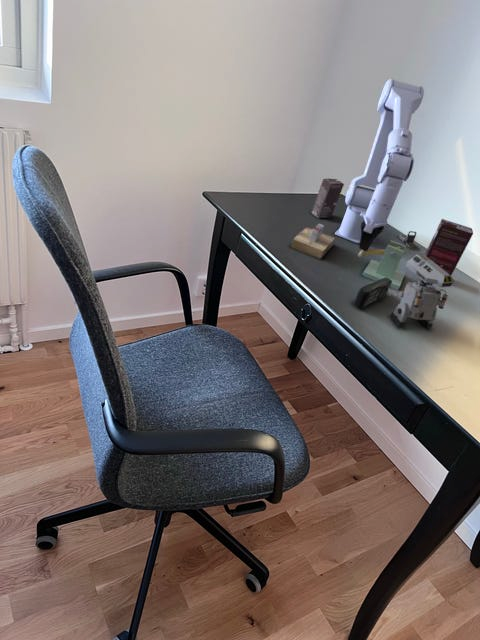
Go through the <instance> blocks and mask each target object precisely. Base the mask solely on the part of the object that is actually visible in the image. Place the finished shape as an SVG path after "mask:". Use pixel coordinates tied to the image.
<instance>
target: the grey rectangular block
mask: <svg viewBox="0 0 480 640" xmlns="http://www.w3.org/2000/svg"><path fill="white" fill-rule="evenodd" d="M324 227H325V225H324V224H321V223H318V224H316V225H315V227H313V228H312V229H313V230H312V233H311V236H310V239H309V240H310V241H313V242H315V241H316V240H317V239H318V238H319V237H320V236H321V233H323V230H324Z"/></svg>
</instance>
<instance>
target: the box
mask: <svg viewBox="0 0 480 640" xmlns="http://www.w3.org/2000/svg"><path fill="white" fill-rule="evenodd" d="M344 186H345V184H344V183H343V182H342V181H341V180H339V179H337V178H323V179H322V182H321V185H320V187H319V190H318V193H317V195H316V198H315V201H314V204H313V207H312V210H311V214H312V215H313V216H315V217H316V218H318V219H321V218H322V219H325V218H332V216H333V214H334V211H335V209H336V206H337V203H338V201H339V198H340V195H341V193H342V191H343V188H344Z"/></svg>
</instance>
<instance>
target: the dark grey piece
mask: <svg viewBox="0 0 480 640" xmlns="http://www.w3.org/2000/svg"><path fill="white" fill-rule="evenodd" d="M388 283H390V286H391V283H392V280H390V279H389V278H383V279H379V280H376V281H375V280H373V281H372V282H370V283H367V284H365V285H364V286H362V287H361V288H359V290H358V292H357V294H356V296H355V298H354V301H353V304H354V306H355V307H356V308H358V309H363V308H365V307H366V306H368V305H371V304H372V303H374V302H377V301H380V300H381V299H383V298H384V297H385V296H386V295H387V294H388V291H389V288H388V287H387V286H389V284H388ZM387 284H388V285H387Z"/></svg>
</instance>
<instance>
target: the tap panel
mask: <svg viewBox="0 0 480 640" xmlns="http://www.w3.org/2000/svg"><path fill="white" fill-rule="evenodd" d="M312 230H313V228H311V227H308V226H307V227H305V228H304V229H303V230H302V231H298V234H297V235H296V236H295V237H294V238H293V239H292V241H291V245H290V247H291V248H292V249H295V250H297V251H300V252H302V253H305V254H307V255H310V256H312V257H314V258H316V259H319V260H321V259H322V258H323V257H324V256H325V255H326V253H328V252H329V250H330V249H331V248H332V247H333V246H334V242H335V240H336V238H335V237H333V236H331V235H328V234H325V233H323V232H322V233H321V236H320V237H319V238H318V239H317V240H316V241H315V242H313V241H310V240H309V239H310V236H311V233H312Z"/></svg>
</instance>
